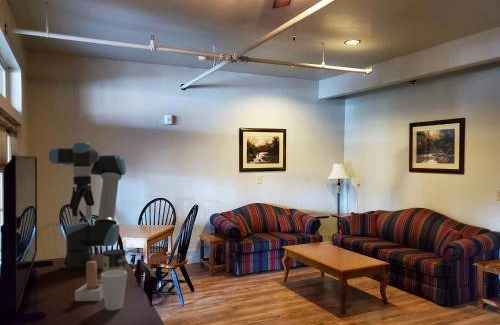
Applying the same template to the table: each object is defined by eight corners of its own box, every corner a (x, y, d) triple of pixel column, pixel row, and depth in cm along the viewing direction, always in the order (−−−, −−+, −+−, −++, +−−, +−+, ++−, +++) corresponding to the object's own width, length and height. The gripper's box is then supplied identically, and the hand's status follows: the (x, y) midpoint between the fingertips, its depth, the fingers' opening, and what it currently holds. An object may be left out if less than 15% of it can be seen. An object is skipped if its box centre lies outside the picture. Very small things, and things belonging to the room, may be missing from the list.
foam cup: (101, 313, 140) (101, 278, 140) (100, 305, 149) (100, 271, 149) (128, 309, 144) (128, 274, 144) (126, 301, 153) (125, 268, 153)
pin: (89, 294, 160) (88, 260, 160) (98, 294, 160) (98, 260, 160) (85, 297, 156) (84, 263, 156) (94, 297, 156) (94, 263, 156)
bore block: (91, 288, 170) (91, 279, 170) (114, 288, 170) (114, 279, 170) (75, 301, 154) (74, 291, 154) (99, 300, 154) (99, 290, 154)
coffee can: (130, 278, 184) (129, 249, 184) (118, 285, 173) (118, 254, 174) (110, 277, 186) (110, 248, 186) (98, 284, 176) (98, 253, 176)
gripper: (85, 175, 191) (86, 217, 190) (60, 176, 166) (61, 225, 165) (100, 175, 191) (101, 217, 190) (77, 176, 166) (78, 225, 165)
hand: (82, 221), depth 178 cm, fingers open, 13 cm apart
